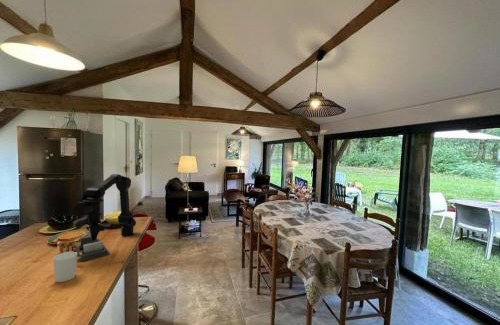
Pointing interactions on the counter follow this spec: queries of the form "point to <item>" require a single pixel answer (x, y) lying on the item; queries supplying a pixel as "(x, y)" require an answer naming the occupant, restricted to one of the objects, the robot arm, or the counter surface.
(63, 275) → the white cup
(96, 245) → the panel
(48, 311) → the counter surface
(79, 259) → the rack
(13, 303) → the counter surface
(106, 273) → the counter surface
